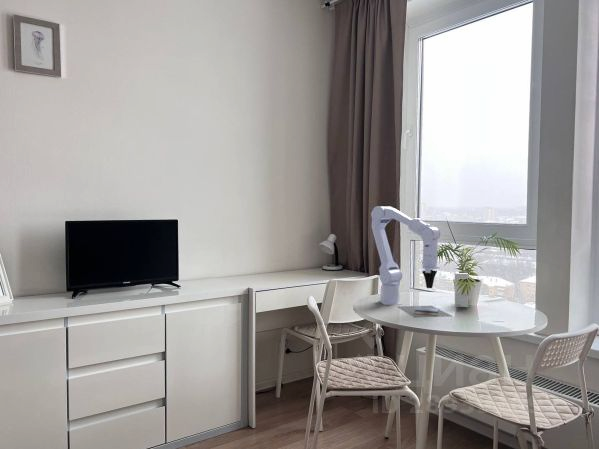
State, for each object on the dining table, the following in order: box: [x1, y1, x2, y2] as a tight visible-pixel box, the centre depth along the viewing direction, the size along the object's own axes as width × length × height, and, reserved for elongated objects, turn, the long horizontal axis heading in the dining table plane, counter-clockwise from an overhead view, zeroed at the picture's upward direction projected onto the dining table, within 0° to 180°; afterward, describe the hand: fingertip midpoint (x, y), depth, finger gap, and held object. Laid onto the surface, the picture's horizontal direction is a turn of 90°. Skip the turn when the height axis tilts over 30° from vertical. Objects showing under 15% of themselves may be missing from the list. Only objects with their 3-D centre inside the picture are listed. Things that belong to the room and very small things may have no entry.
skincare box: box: [454, 271, 470, 308], centre depth 204 cm, size 8×6×15 cm
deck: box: [415, 307, 440, 316], centre depth 188 cm, size 9×2×6 cm
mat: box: [396, 305, 453, 318], centre depth 192 cm, size 20×16×1 cm
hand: (429, 287), depth 194 cm, fingers closed
